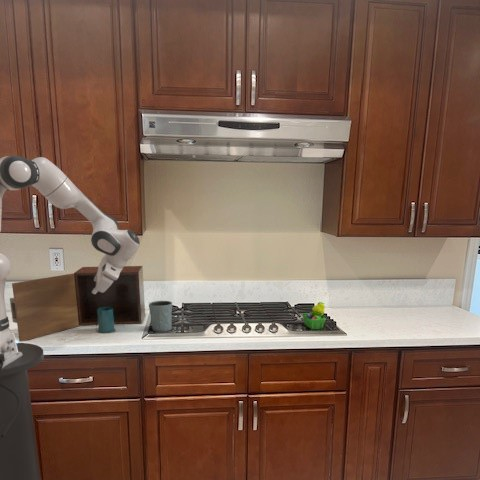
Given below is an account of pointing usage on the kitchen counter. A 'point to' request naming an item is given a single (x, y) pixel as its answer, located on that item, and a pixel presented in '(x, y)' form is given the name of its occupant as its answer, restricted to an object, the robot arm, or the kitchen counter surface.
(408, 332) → the kitchen counter surface
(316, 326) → the fruit basket
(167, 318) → the grey mug
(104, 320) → the cup
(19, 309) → the cupboard door
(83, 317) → the cupboard
